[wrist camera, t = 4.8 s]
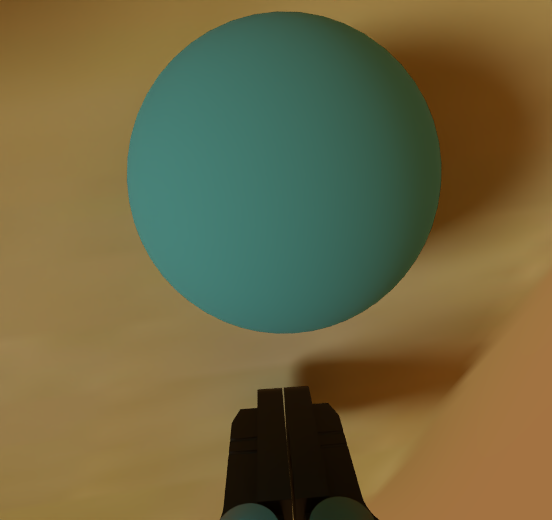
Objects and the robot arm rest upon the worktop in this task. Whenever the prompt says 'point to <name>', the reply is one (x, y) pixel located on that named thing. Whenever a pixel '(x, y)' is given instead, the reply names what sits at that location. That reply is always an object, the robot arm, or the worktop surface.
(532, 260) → the worktop surface
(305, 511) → the robot arm
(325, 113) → the ball
